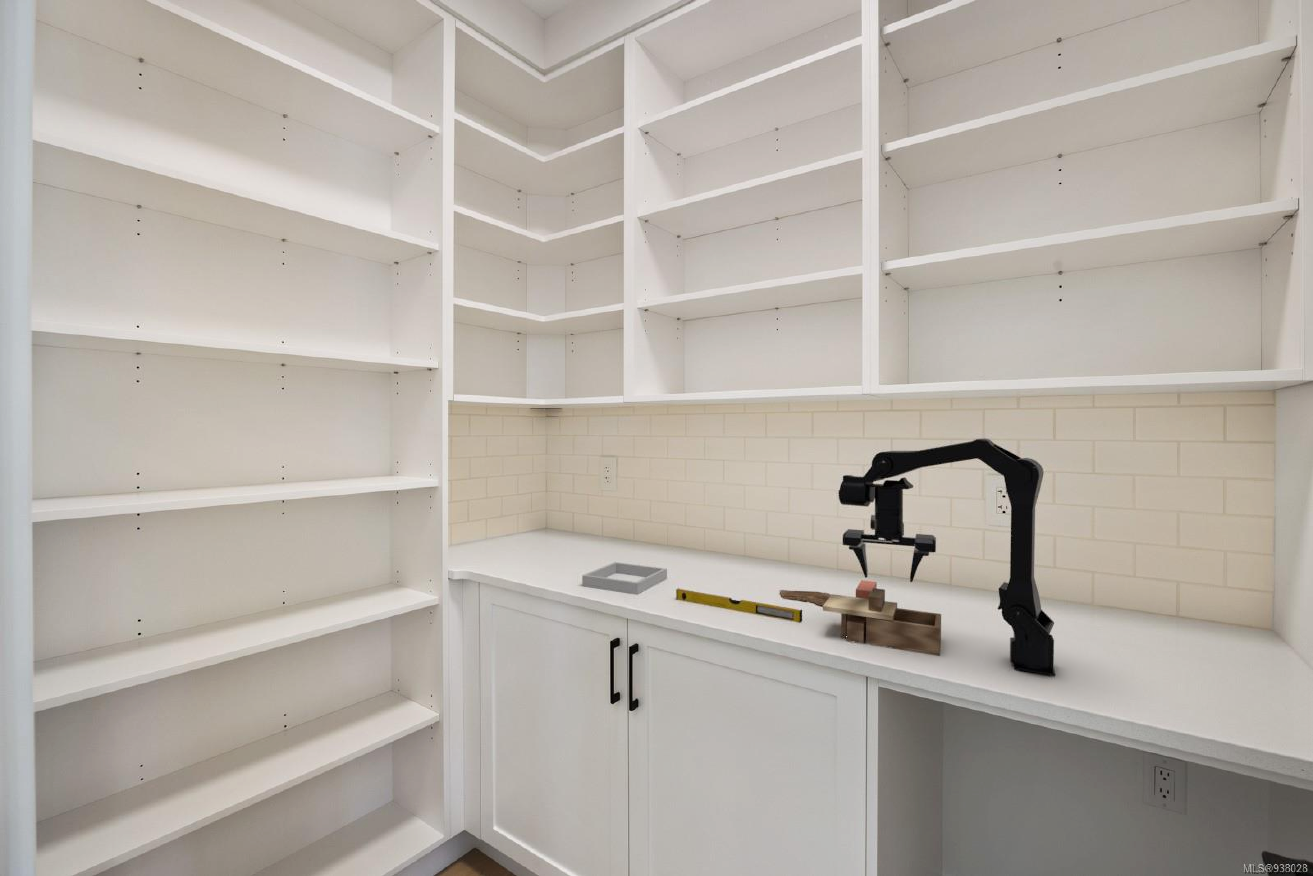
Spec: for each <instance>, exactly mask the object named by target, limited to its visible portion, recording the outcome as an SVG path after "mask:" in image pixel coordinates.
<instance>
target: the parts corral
mask: <svg viewBox="0 0 1313 876" xmlns="http://www.w3.org/2000/svg"><path fill="white" fill-rule="evenodd" d="M614 574H623V575H631V576H638V577H642V579H639V580H638V581H632V580H624V579H618V578H611V577H610V576H612V575H614ZM643 577H644V578H643ZM581 580H582V581H581V582H582V583H581V585H582V587H588V588H594V589H598V590H600V589H601V590H607V591H613V592H619V593H620V592H621V593H626V594H633V595H639V594H641V593H643V592H645V591H647V590H648V589H650V588H652V587H654V586H656V585H658V584H660V583H662V582H664V581H665V580H668V568H664V567H656V566H648V565H640V564H634V563H626V562H625V563H624V562H616V561H615V562H612V563H610V564H608V565H604V566H602V567H600V568H597V569H595V570H592V571H590V572H587V573H585V574H582V575H581Z"/></svg>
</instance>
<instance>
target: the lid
mask: <svg viewBox="0 0 1313 876" xmlns="http://www.w3.org/2000/svg"><path fill="white" fill-rule="evenodd" d="M830 594H831V593H830ZM897 608H898V602H897V601H896V602H895V601H886V590H885V589H883V588H877V589H876V588H873V589H872V591H871V593H870V595H869V599H865V598H857V597H856V596H847V595H843V594H842V595H841V594H840V595H839V594H835V593H834V594H833V593H832V594H831V596H830V597H829V598H828V600H827V601H826V602H825V604H824V605H823V606H822V611H824V612H831V613H835V614H836V613H837V614H841V613H843V614H850V615H857V616H864V617H871V618H878V619H885V620H891V621H893V618H894V615H895V612H896V610H897Z"/></svg>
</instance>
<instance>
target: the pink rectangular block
mask: <svg viewBox="0 0 1313 876" xmlns="http://www.w3.org/2000/svg"><path fill="white" fill-rule="evenodd" d="M877 585H878V583H877V581H871V580H860V582H859V583H858V585H857V587H856V589H855V597H857V598H865V599H869V595H870V593H871V591H872V589H873V588H876V589H878V588H877V587H878V586H877Z"/></svg>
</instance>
